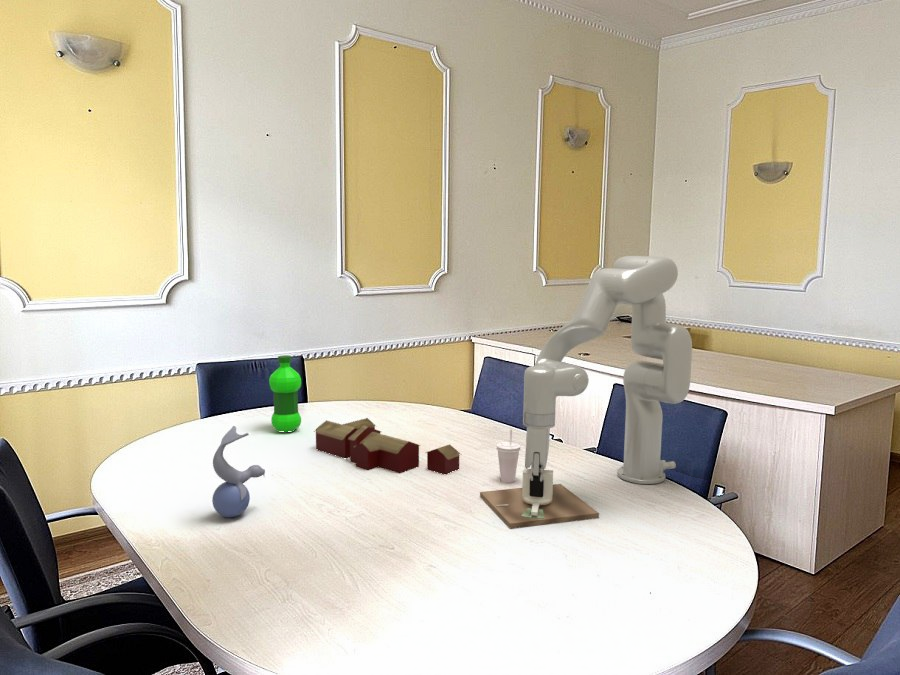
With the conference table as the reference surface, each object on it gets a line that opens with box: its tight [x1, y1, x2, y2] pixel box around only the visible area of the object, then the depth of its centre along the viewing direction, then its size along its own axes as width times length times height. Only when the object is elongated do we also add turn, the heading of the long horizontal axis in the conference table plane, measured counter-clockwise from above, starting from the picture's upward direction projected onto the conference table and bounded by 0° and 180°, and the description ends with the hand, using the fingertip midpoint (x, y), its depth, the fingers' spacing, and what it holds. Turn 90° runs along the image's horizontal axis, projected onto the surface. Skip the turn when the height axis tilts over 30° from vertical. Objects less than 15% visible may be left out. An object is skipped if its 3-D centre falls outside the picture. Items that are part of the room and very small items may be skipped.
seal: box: [212, 425, 266, 518], centre depth 159 cm, size 8×12×20 cm
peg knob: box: [521, 467, 554, 516], centre depth 162 cm, size 14×7×7 cm, turn 169°
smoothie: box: [496, 428, 522, 484], centre depth 183 cm, size 6×6×14 cm
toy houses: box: [313, 417, 463, 475], centre depth 200 cm, size 45×20×10 cm, turn 50°
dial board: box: [479, 483, 600, 530], centre depth 166 cm, size 22×20×1 cm
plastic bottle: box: [268, 354, 302, 432], centre depth 228 cm, size 10×10×25 cm
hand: (537, 492), depth 166 cm, fingers closed on peg knob, 3 cm apart
